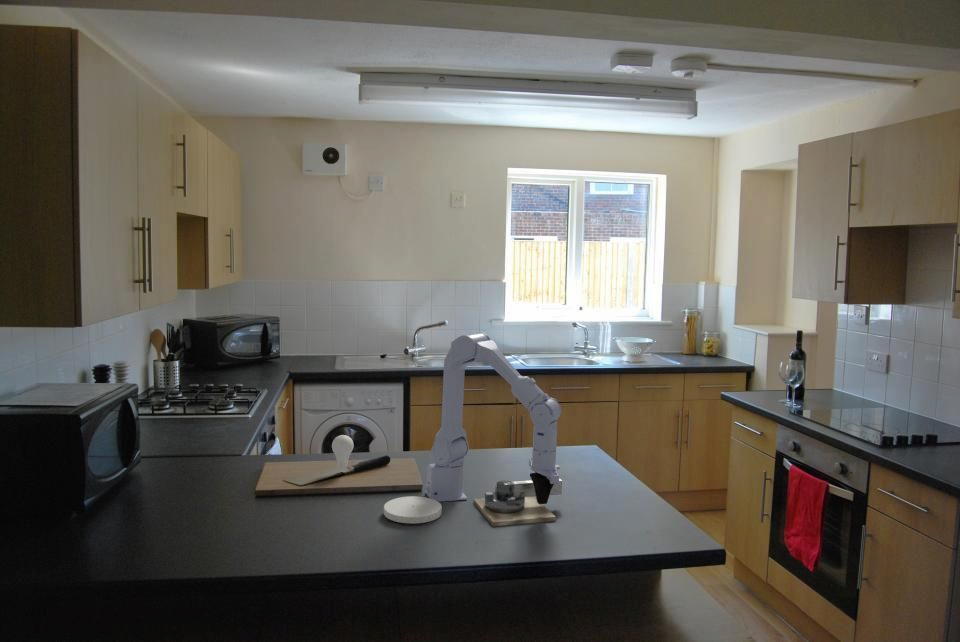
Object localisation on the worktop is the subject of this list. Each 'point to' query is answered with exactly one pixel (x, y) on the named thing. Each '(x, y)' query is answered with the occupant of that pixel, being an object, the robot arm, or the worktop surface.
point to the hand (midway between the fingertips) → (542, 503)
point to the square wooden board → (517, 513)
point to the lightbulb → (342, 449)
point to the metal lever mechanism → (513, 495)
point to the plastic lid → (412, 509)
